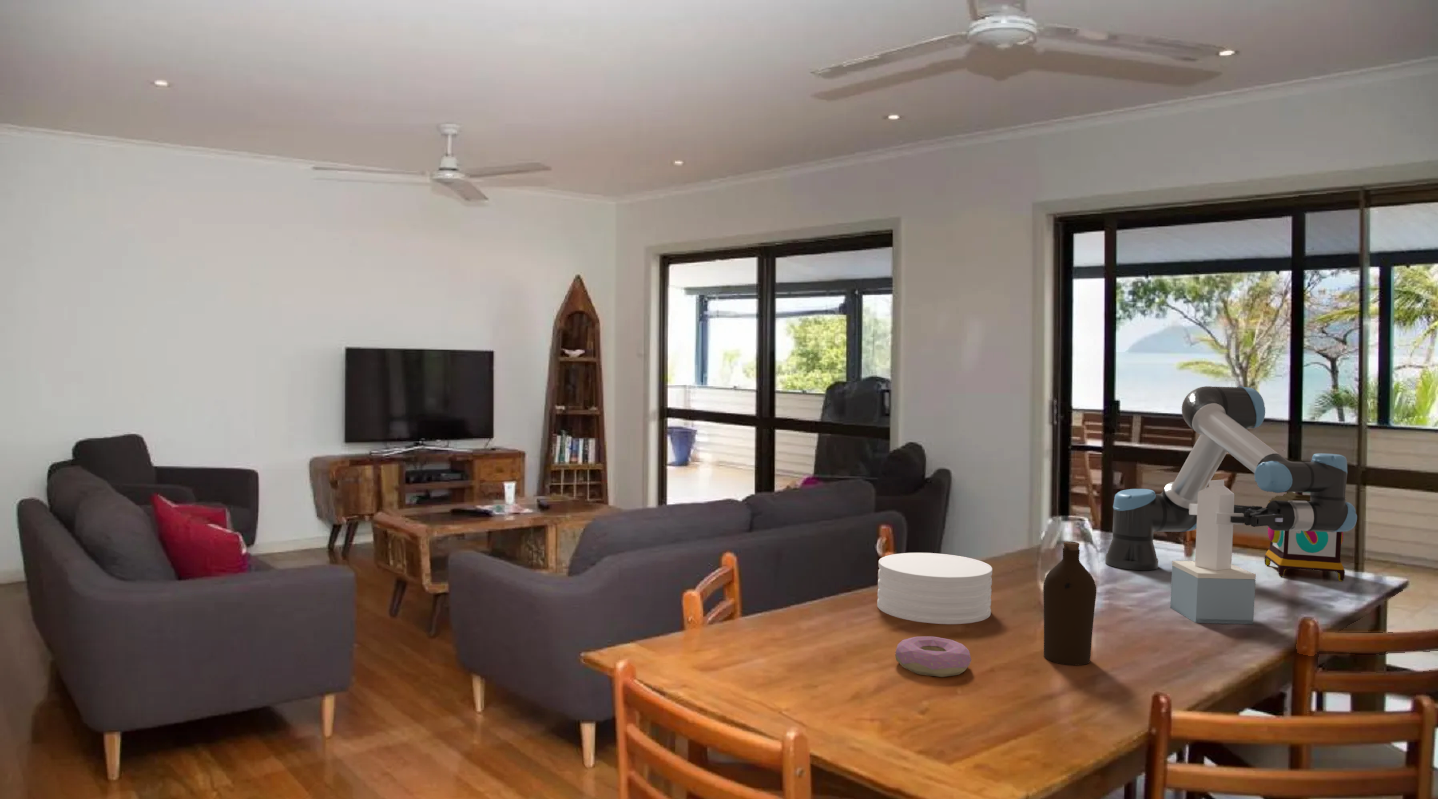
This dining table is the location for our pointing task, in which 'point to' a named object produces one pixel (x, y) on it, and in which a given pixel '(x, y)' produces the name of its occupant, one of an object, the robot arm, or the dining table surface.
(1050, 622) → the olive oil
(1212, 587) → the box
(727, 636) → the dining table surface
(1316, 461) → the robot arm
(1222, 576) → the lid
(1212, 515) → the milk
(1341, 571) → the decorative lantern
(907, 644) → the donut
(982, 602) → the plate stack
